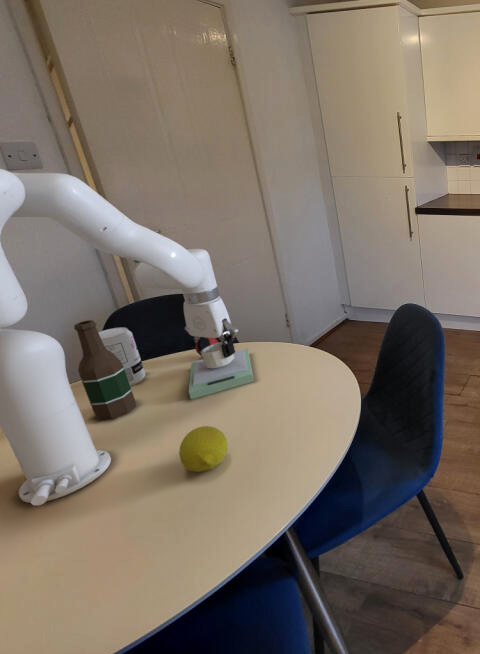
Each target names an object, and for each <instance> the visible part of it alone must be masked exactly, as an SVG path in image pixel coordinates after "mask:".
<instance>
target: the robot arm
mask: <svg viewBox="0 0 480 654" xmlns="http://www.w3.org/2000/svg"><path fill="white" fill-rule="evenodd" d="M10 218H49V219H50V220H53V221H54V222H56V223H57V224H59V225H60V226H61V227H63V228H64V229H66V230H68V231H69V232H71V233H72V234H73V235H75V236H77V237H78V238H80V239H81V240H82V241H83V242H85V243H86V244H88V245H89V246H91V248H92V247H93V248H94V249H96V250H98V251H100V252H102V253H106V254H108V255H113V256H116V257H119V258H125V259H129V260H133V261H137V262H140V263H139V264H138V265H137V266H136V268H135V271H134V277H135V279H136V281H137V282H138V283H139V284H140V285H142V286H144V287H146V288H151V289H161V290H164V289H165V290H169V289H170V290H181V292H182V295H183V298H184V302H183V315H184V321H185V326H184V330H185V331H186V332H187V333H188V334H189V336H190V337H191V338H192V339H193V341H194V343H195V344H196V343H197V346H198V349H199V353H200V355H199V356H201V357H202V355H201V350H203V349H204V348H206V347H208V346H210V342H209V339H208V338H215V339H217V338H218V340H219V341H220V342H222V344H223V345H221V347H222V351H223V355H224V357H225V358H228V357H229V356H231V355H232V354H234V353H235V351H236V349H235V345H234V342H233V341H235V338H236V337H237V334H238V333H239V329H238V328H237V327H236V326H235V325H233V324H232V322H231V319H230V316H229V315H230V314H229V313H228V310H227V308H226V305H225V303H224V301H223V299H222V298H221V294H220V292H219V287H218V284H217V280H216V275H215V272H214V268H213V265H212V261H211V256H210V254H209V252H208V251H207V250H206V249H203V248H190V249H186V248H185V247H184V246H182V245H181V244H179V243H178V242H176V241H174V240H173V239H171V238H168V237H166V236H164V235H162V234H160V233H158V232H156V231H154V230H152V229H150V228H148V227H145V226H144V225H141V224H139V223H136V222H134V220H132V219H131V218H129V217H128V216H126V214H124V213H123V212H122V211H120V210H119V208H116V207H115V206H114V205H113V204H112V203H110V202H109V201H108V200H106V199H105V198H104V197H103V196H102V195H101V194H99V193H98V192H97V191H95V189H93V188H91V187H90V186H89V185H88V184H87V183H85V182H84V181H82V180H81V179H79V178H78V177H76V176H74V175H71V174H67V173H62V172H61V173H60V172H10V171H8V170H7V169H4V168H0V237H1V235H2V230H3V229H4V226H5V225H6V223H7V221H8V220H9V219H10ZM1 242H2V241H1V240H0V427H1V429H2V430H3V431H2V432H4V435H5V437H6V440H7V442H8V444H9V446H10V447H11V450H12V451H13V454H14V456H15V458H16V460H17V462H18V465H19V467H20V468H21V471H22V473H23V476H24V477H25V479H26V480H25V481H24V482H23V483H22V484H21V486H20V488H19V489H18V495H19V498H20V500H21V501H22V502H25V503H29V504H31V505H32V506H37V507H38V506H41V505H43V504H45V503H46V502H50V501H53V500H57V499H59V498H62V497H65V496H67V495H69V494H71V493H74V492H76V491H78V490H80V489H82V488H84V487H86V486H87V485H89V484H91V483H92V482H93V481H95V480H97V479H98V478H99V477H101V475H102V474H104V473H105V471H106V470H108V468H109V467H110V465H111V462H112V457H111V456H110V455H111V454H110V453H108V452H107V451H106V450H103V449H102V450H100V449H99V450H98V449H96V447H95V444H94V442H93V440H92V437H91V434H90V433H89V430H88V427H87V425H86V423H85V419H84V417H83V414H82V412H81V410H80V407H79V405H78V402H77V400H76V397H75V395H74V393H73V389H72V387H71V384H70V382H69V381H70V380H69V378H68V374H67V368H66V355H65V352H64V349H63V347H62V344H61V343H60V342H59V341H58V340H57V339H55V338H54V337H52V336H50V335H48V334H46V333H43V332H40V331H34V330H28V329H14V328H13V329H11V328H7V327H10V326H12V325H15V324H16V323H18V322H19V321H21V320H22V319H24V317H25V316H26V314H27V311H28V301H27V297H26V294H25V293H24V290H23V288H22V286H21V285H20V282H19V281H18V279H17V276H16V274H15V272H14V271H13V269H12V267H11V265H10V263H9V261H8V259H7V257H6V254H5V251H4V249H3V247H2V243H1ZM224 335H225V336H224ZM206 337H207V338H206Z"/></svg>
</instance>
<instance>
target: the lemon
mask: <svg viewBox="0 0 480 654" xmlns="http://www.w3.org/2000/svg"><path fill="white" fill-rule="evenodd" d="M227 452H228V438H227V436H226V435H225V433H224V432H223V431H222V430H221V429H219V428H217V427H216V426H215V427H214V426H209V425H203V426H199V427H197V428H194V429H192V430H191V431H189V432H188V433H186V435H185V436H184V438H183V439H182V441H181V442H180V445H179V451H178V454H179V455H178V456H179V459H180V462H181V463H180V464H182V466H183V467H184V468H185V469H186V470H188V471H191V472H195V473H197V472H198V473H199V472H200V473H201V472H207V471H211V470H212V469H214V468H216V467H217V466H219V465H220V464H221V463H222V462H223V461H224V459H225V457H226V454H227Z"/></svg>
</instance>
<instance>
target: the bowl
mask: <svg viewBox="0 0 480 654" xmlns="http://www.w3.org/2000/svg"><path fill="white" fill-rule="evenodd" d="M221 345H223V344H222V342H221V341H220V342H219V343H216V344H213V345H210V346H208V347H206V348H204V349H203V350H201V355H202V356H201V355H200V356H201V358H202V359H203V361H204V363H205V366H206V367H207V368H219V367H222V366H225V365H227V364H229V363H230V362H231V361H232V360H233V359H234V354H232V355H231V356H229V357H228V358H225V357H224V355H223V351H222V347H221Z"/></svg>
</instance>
